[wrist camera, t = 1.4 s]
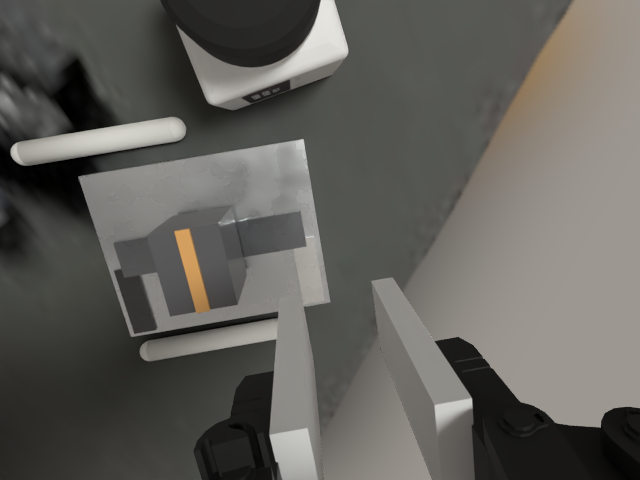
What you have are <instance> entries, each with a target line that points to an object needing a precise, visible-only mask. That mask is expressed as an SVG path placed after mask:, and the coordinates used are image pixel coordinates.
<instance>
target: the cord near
mask: <svg viewBox="0 0 640 480" xmlns="http://www.w3.org/2000/svg"><path fill="white" fill-rule="evenodd" d="M185 134H186V126H185V124H184V123H183V121H182V120H180V119H179V118H176V117H168V118H161V119H155V120H149V121H143V122H137V123H131V124H125V125H119V126H113V127H107V128H101V129H95V130H88V131H82V132H76V133H70V134H64V135H58V136H52V137H46V138H40V139H34V140H28V141H22V142H18V143H16V144H14V145H13V146H12V148H11V156H12V158H13V159H14V160H15V161H16V162H17V163H19V164H21V165H25V166H30V165H36V164H43V163H49V162H55V161H61V160H67V159H73V158H79V157H85V156H91V155H97V154H103V153H109V152H115V151H121V150H127V149H133V148H139V147H145V146H151V145H157V144H163V143H169V142H175V141H179V140H181V139H183V138H184V136H185Z"/></svg>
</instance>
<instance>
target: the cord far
mask: <svg viewBox="0 0 640 480" xmlns="http://www.w3.org/2000/svg"><path fill="white" fill-rule="evenodd" d="M277 326H278V318H274V319H269V320H263V321H257V322H251V323H246V324H240V325H234V326H229V327H223V328H217V329H211V330H206V331H200V332H194V333H189V334H183V335H177V336H171V337H166V338H160V339H154V340H149V341H146V342H145V343H143V344H142V346H141V348H140V356H141V357H142V359H144V360H146V361H155V360H161V359H166V358H172V357H178V356H183V355H189V354H195V353H200V352H206V351H212V350H217V349H223V348H229V347H234V346H240V345H246V344H251V343H257V342H263V341H268V340H274V339H277Z"/></svg>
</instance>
